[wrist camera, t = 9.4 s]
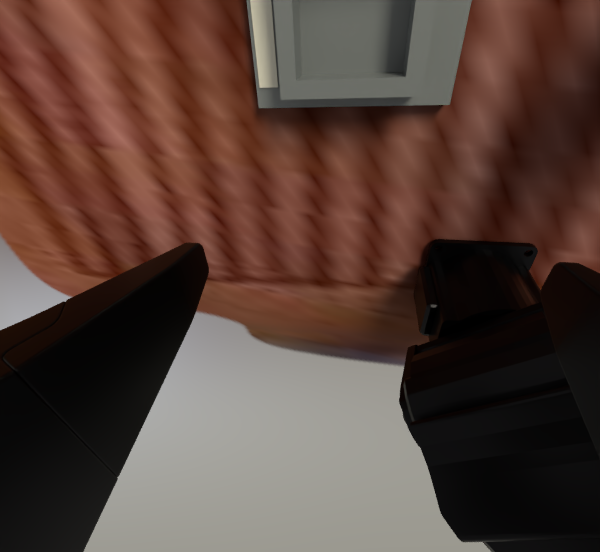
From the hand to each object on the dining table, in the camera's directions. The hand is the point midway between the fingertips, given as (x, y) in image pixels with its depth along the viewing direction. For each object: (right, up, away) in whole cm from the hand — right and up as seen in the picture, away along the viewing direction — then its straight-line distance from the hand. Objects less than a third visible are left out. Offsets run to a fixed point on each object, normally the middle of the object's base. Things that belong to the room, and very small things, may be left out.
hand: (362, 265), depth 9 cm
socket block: (+1, +12, +7) cm, 14 cm away
